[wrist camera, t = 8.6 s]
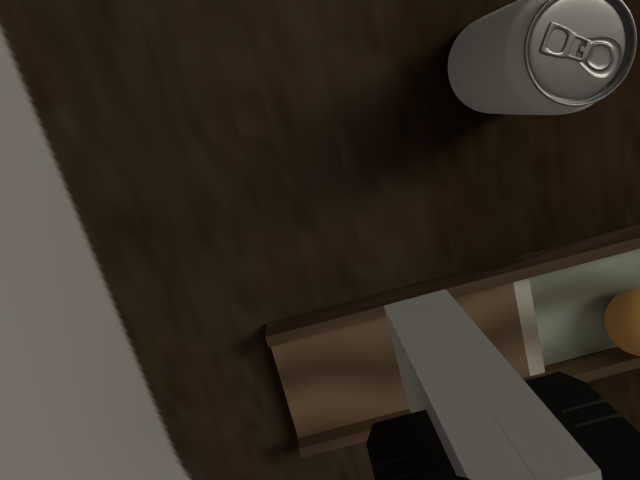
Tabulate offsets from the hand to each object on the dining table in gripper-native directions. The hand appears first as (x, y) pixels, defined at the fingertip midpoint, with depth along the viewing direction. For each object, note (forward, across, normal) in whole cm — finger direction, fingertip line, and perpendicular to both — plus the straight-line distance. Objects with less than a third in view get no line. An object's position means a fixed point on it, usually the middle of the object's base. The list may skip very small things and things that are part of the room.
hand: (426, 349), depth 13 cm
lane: (+27, +11, -14) cm, 33 cm away
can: (+28, +13, +5) cm, 31 cm away
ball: (+25, +19, -15) cm, 35 cm away
